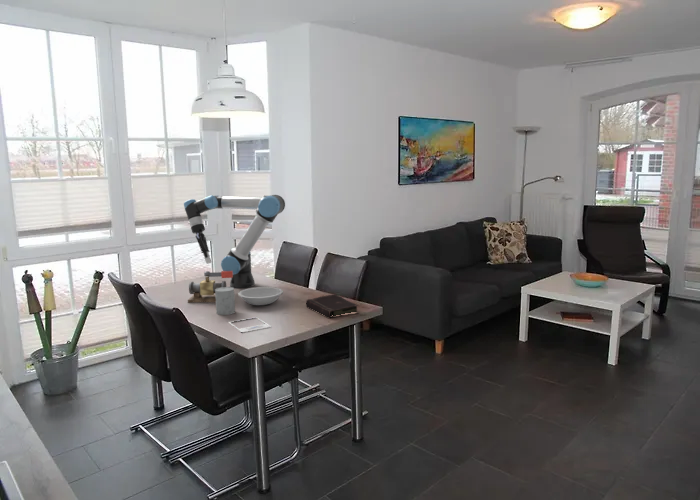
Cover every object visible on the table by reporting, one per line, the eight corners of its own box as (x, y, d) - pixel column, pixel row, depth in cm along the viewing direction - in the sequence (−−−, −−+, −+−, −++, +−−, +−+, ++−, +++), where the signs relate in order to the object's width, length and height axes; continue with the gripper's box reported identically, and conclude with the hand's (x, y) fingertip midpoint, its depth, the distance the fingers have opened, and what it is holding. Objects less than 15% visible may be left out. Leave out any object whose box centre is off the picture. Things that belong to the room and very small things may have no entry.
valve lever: (232, 277, 288) (232, 271, 288) (204, 278, 287) (203, 272, 286) (233, 276, 291) (232, 270, 290) (205, 277, 290) (204, 271, 289)
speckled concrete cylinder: (238, 310, 269) (237, 287, 267) (228, 315, 260) (227, 292, 258) (222, 308, 272) (221, 286, 270) (212, 314, 263) (211, 290, 261)
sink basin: (291, 301, 286) (291, 289, 285) (265, 312, 265) (264, 300, 264) (257, 296, 297) (256, 285, 296) (229, 306, 276) (228, 294, 275)
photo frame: (241, 331, 233) (228, 321, 248) (241, 334, 234) (228, 323, 249) (271, 326, 241) (256, 316, 256) (271, 328, 241) (256, 318, 256)
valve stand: (228, 296, 296) (227, 274, 294) (224, 302, 285) (223, 279, 283) (193, 297, 296) (192, 275, 293) (187, 302, 285) (186, 279, 283)
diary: (328, 320, 253) (328, 310, 252) (305, 308, 274) (305, 299, 273) (360, 313, 263) (360, 304, 262) (336, 302, 284) (336, 293, 283)
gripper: (194, 229, 311) (206, 266, 308) (187, 225, 297) (199, 264, 295) (206, 225, 311) (218, 261, 308) (199, 221, 298) (211, 259, 295)
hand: (209, 262), depth 302 cm, fingers closed
